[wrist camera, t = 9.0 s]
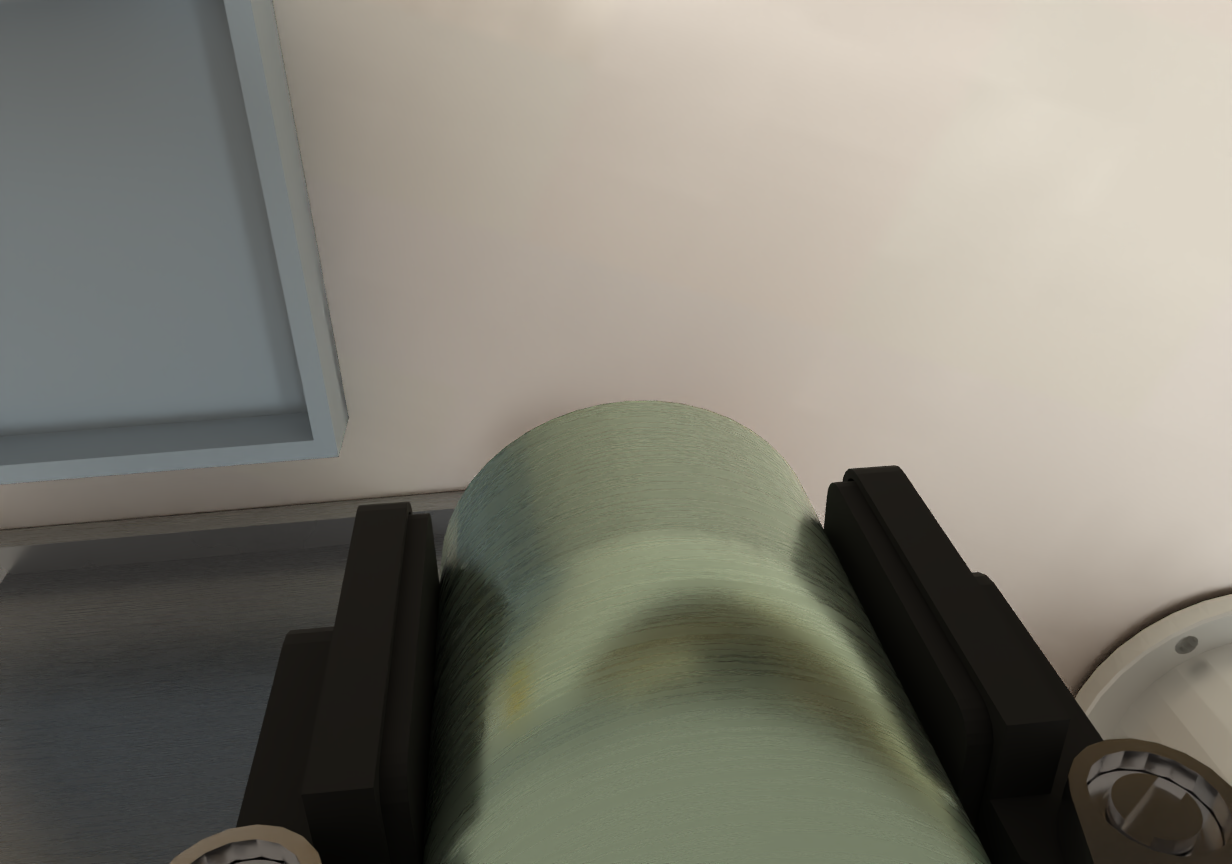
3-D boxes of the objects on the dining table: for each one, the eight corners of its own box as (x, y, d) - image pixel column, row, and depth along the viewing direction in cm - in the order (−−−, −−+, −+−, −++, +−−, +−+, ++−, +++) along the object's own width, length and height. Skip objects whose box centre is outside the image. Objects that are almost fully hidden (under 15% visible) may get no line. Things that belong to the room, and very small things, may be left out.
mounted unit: (488, 488, 33) (486, 935, 20) (506, 653, 37) (516, 1134, 23) (-24, 532, 32) (-415, 1042, 18) (44, 698, 36) (-242, 1235, 22)
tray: (263, -47, 25) (242, -39, 23) (348, 417, 32) (338, 457, 30) (-297, -22, 24) (-371, -11, 22) (-93, 452, 31) (-136, 495, 29)
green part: (829, 387, 11) (1240, 1018, 5) (801, 690, 13) (1064, 1387, 7) (420, 414, 11) (337, 1132, 5) (459, 722, 13) (436, 1486, 7)
